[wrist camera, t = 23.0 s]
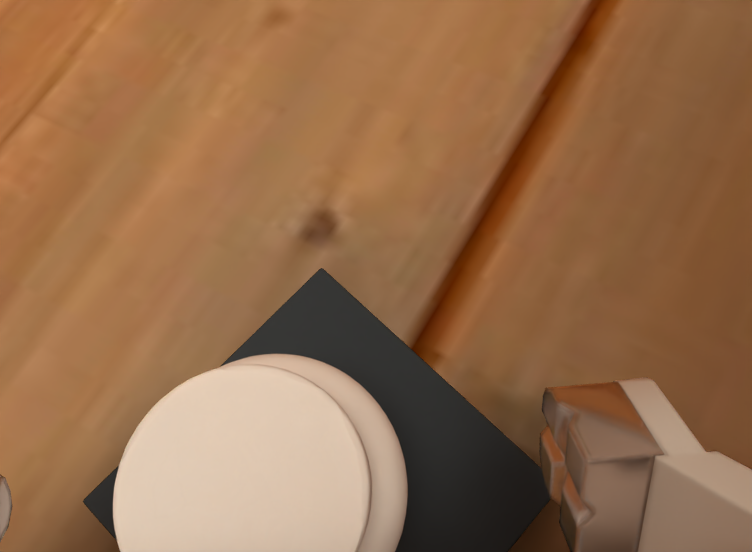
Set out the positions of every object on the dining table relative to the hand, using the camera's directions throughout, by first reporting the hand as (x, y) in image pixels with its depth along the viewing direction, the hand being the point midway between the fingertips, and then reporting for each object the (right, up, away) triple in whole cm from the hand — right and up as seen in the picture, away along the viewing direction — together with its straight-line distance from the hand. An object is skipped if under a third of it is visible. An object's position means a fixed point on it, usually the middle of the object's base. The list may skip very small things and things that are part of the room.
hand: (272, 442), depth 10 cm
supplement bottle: (-1, -4, +10) cm, 11 cm away
